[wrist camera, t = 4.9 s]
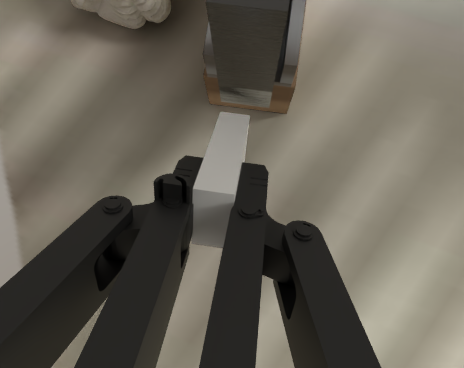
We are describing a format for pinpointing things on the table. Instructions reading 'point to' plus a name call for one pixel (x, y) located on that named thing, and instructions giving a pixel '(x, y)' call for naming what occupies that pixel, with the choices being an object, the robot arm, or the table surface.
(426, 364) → the table surface
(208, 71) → the guide sleeve
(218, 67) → the gray angle bracket
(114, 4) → the white rock
